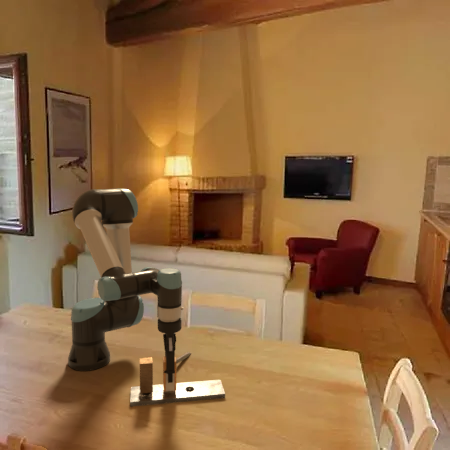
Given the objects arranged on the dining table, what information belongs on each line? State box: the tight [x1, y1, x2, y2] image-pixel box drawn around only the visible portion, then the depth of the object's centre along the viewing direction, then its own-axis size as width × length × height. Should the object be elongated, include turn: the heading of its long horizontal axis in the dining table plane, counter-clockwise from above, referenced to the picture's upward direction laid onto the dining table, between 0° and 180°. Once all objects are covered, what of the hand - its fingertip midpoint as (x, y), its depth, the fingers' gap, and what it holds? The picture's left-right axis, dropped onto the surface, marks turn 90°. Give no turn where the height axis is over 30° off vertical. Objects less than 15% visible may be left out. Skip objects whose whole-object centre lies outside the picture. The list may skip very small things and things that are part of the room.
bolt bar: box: [129, 356, 226, 408], centre depth 138 cm, size 9×30×13 cm, turn 101°
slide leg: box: [162, 355, 177, 392], centre depth 137 cm, size 4×4×11 cm
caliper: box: [176, 351, 192, 365], centre depth 158 cm, size 20×1×6 cm, turn 160°
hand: (169, 386), depth 138 cm, fingers closed on slide leg, 4 cm apart
